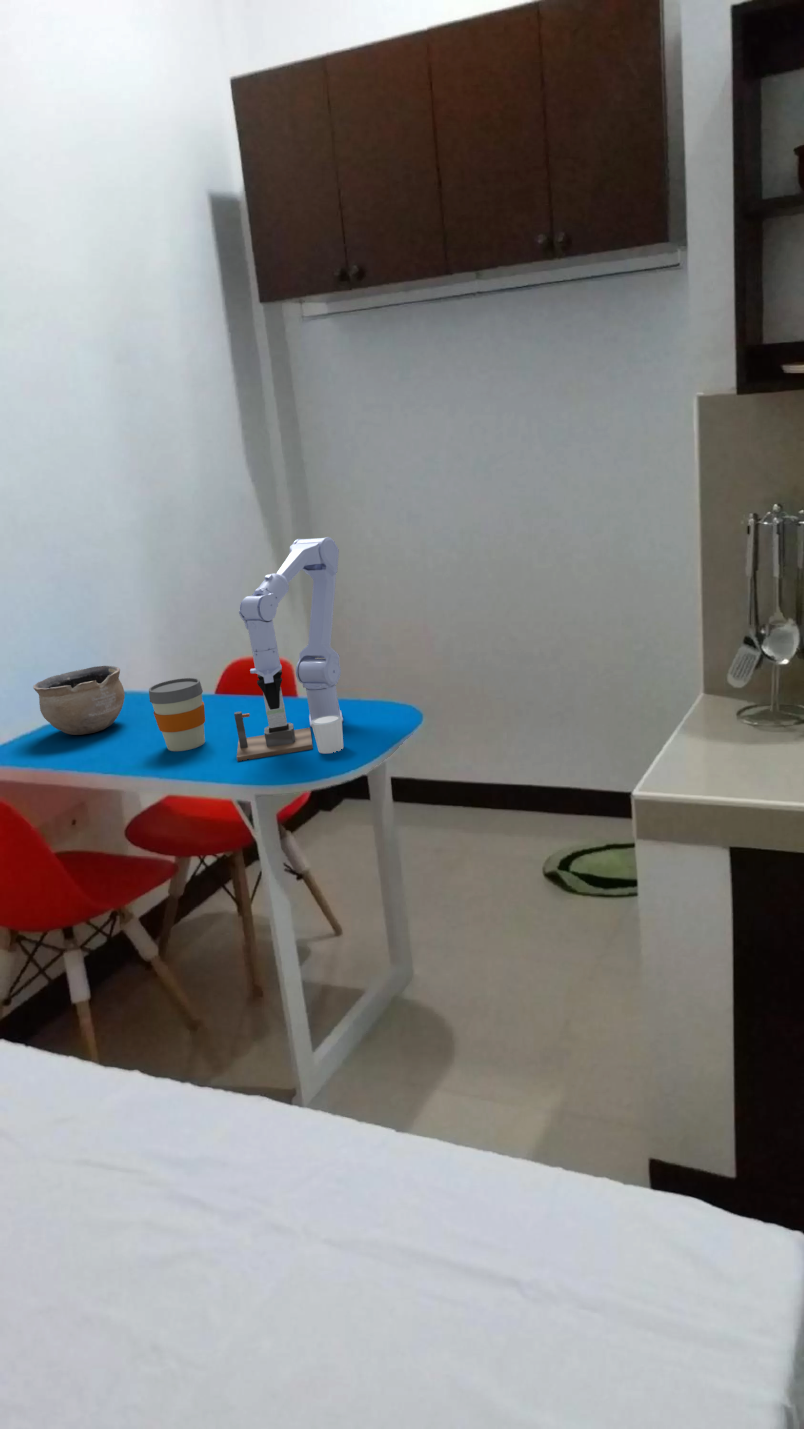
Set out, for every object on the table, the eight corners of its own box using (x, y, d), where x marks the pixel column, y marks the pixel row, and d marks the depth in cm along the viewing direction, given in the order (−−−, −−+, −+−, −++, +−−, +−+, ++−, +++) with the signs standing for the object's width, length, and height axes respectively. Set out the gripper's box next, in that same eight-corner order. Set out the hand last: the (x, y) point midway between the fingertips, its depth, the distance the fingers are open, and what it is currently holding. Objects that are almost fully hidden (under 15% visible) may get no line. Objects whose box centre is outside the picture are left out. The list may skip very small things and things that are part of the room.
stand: (239, 743, 256) (232, 706, 254) (310, 731, 257) (304, 694, 255) (237, 761, 243) (230, 722, 240) (312, 748, 244) (306, 709, 241)
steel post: (269, 723, 251) (263, 690, 248) (286, 720, 251) (281, 687, 249) (269, 728, 247) (262, 694, 244) (287, 725, 247) (281, 691, 245)
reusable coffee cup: (161, 757, 254) (148, 696, 250) (158, 743, 265) (146, 684, 261) (215, 746, 256) (203, 685, 252) (209, 732, 268) (198, 674, 264)
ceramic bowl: (65, 749, 272) (51, 691, 268) (33, 736, 289) (20, 682, 285) (145, 724, 285) (133, 668, 281) (110, 712, 302) (98, 660, 297)
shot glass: (312, 749, 244) (307, 719, 242) (340, 742, 246) (336, 712, 244) (320, 756, 238) (315, 726, 236) (350, 749, 240) (345, 719, 238)
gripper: (247, 644, 250) (257, 700, 254) (246, 658, 236) (256, 717, 240) (278, 639, 251) (287, 695, 255) (278, 652, 237) (288, 712, 241)
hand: (274, 706), depth 248 cm, fingers closed on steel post, 4 cm apart
